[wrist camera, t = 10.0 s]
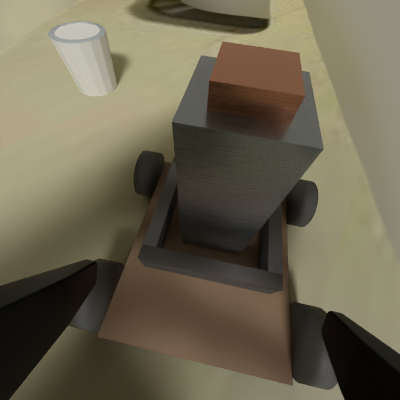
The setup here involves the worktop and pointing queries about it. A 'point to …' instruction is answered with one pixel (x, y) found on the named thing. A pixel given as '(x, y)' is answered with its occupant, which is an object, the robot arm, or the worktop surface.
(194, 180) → the engine block
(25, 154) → the worktop surface
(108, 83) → the shot glass
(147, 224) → the chassis
